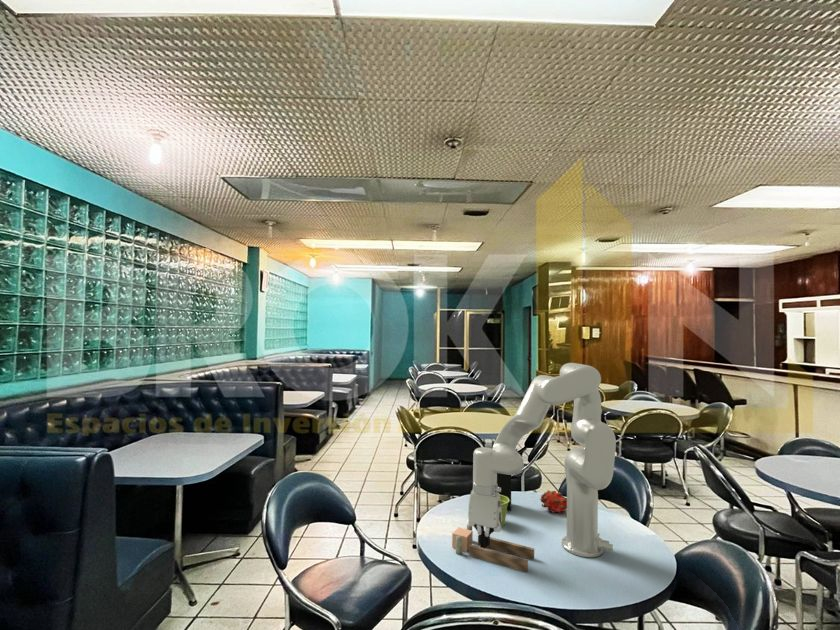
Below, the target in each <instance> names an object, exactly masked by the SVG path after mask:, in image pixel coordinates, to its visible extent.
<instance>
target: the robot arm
mask: <svg viewBox="0 0 840 630" xmlns="http://www.w3.org/2000/svg"><path fill="white" fill-rule="evenodd" d="M559 369H560V370H559V375H557V376H551V375H548V374H547V375H546V374H540V375H538V376H537V375H536V376H535V377H534V378H533V379H532V381H531V383H530V385H529V387H528V388H527V390H526V393H525V394H524V397H523V399H522V401H521V403H520V404H519V407H518V409H517V410H516V412H515V414H514V415H513V416H512V417H511V418H510V419H509V420H508V422H507V423H505V425H504V426H503V427H502V428H501V430H500V431H499V433H498V435H497V437H496V439H495V443H494V445H493V448H492V447H488V446H487V447H485V446H482V447H477V448H475V449H474V451H473V453H472V455H473V457H472V463H473V464H472V466H473V467H472V490H471V491H470V495H469V502H468V513H467V516H468V517H467V518H468V523H467V525H468V524H469V525H471V526H472V528H473V527H474V528H475V530H476V532H477V535H479V543H480V546H479V547H482V548H486V549H488V548H487V547H488V546H489V544H490V537H491V536H490V535H491V534H493V533H500V532H501V531H502V526H501V525H500V523H502V508H501V500H500V494H499V493H498V492H501V488H500V487H498V485H497V473H500V474H507V475H511V476H512V475H513V476H514V475H517V474H519V473H521V471H523V468H524V465H525V464H524V459H523V456H522V455H521V454H520V453H519V452H518V451H517V450H516V448H517V446H518V444H519V442H520V441H521V440H522V438H523V437H524V436H525V435H526V434H528V433H529V432H532V431H535V430H537V429H539V428H540V427H541V426H542V425H543V424H542V423H543V421H544V419H545V417H546V415H547V413H548V411H549V409H550V407H551V406H557V405H558V406H560V405H562V404H566V403H569V402H571V401H573V410H572V422H571V437H572V439H573V441H574V442H576V443H577V444H578V445H580V446H582V447H583V448H582V447H575V448H572V449H570V450H569V451H568V452H567V454H566V455H565V458H564V461H563V462H564V471H565V472H564V473H565V482H566V498H567V509H566V535H565V536H563V537H562V539H561V547H563V549H564V550H566V551H567V552H569V553H570V554H572V555H575V556H578V557H583V558H597V557H599V556H601V555H602V554H603V553H604V550H607V551H611V552H613V549H614V545H613V543H610V541H609V540H606V539H602V538H601V537H600V536H601V535H600V532H599V531H598V529H599V527H598V525H599V523H598V522H599V521H598V520H599V519H598V518H599V511H598V510H599V506H598V505H599V493H598V492H599V491H600V490H604V489H606V488H607V487H608V486H609V485H610V484H611V482H612V480H613V476H614V469H615V461H616V460H615V459H616V450H617V449H616V448H617V440H616V435H615V433H614V431H613V429H612V428H611V426H610V425H609V424H606V423H605V422H604V421H603V422H602V397H601V393H600V391H599V389H598V388H599V387H600V385H601V382H602V376H601V374H600V372H599V370H598V369H596V368H595V367H594V366H591V365H588V364H581V363H577V362H568V363H564V364H563V365H562V366H561V367H560V368H559ZM598 532H599V533H598Z"/></svg>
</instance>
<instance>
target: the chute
mask: <svg viewBox="0 0 840 630" xmlns="http://www.w3.org/2000/svg"><path fill="white" fill-rule="evenodd" d="M466 529H467V530H471V531H473V526H471V525H469V524H468V523H467V524H466ZM462 551H463V550H462V536H460V535H458V536H456V548H455V554H457V555H462ZM468 557H472V558H475V559H479V560H482V561H486V562H489V563H493V564H495V565H500V566H503V567H506V568H510V569H514V570H516V571H521V572H524V573H528V571H529V560H532V561H534V560H535V548H533V547H530V546H525V545H522V544H518V543H514V542H510V541H507V540H503V539H499V538H496V537H495V538H494V537H491V536H490V544H489V546H488V547H487V548H482V547H480V543H479V534H477V545H474V544H472V545H470V546H469V549H468Z"/></svg>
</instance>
